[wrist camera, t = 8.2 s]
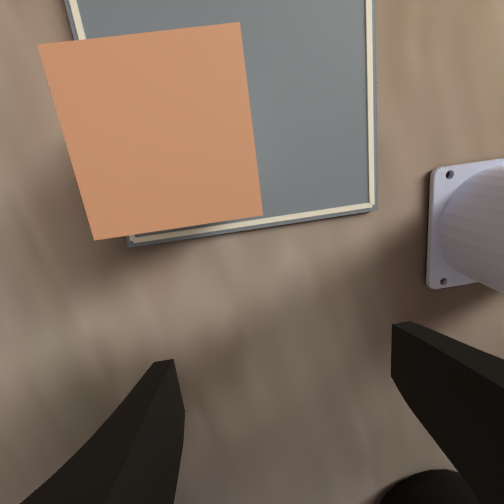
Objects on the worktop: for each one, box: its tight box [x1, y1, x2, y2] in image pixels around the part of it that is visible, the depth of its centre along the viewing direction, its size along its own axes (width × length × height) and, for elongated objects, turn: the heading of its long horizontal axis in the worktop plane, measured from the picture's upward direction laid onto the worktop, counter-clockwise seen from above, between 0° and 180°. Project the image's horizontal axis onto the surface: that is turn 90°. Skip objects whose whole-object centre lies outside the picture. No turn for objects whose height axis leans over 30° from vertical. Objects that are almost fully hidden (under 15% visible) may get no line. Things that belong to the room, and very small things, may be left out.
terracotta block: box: [37, 22, 263, 240], centre depth 11 cm, size 5×5×5 cm
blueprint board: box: [64, 0, 378, 248], centre depth 14 cm, size 15×20×5 cm
